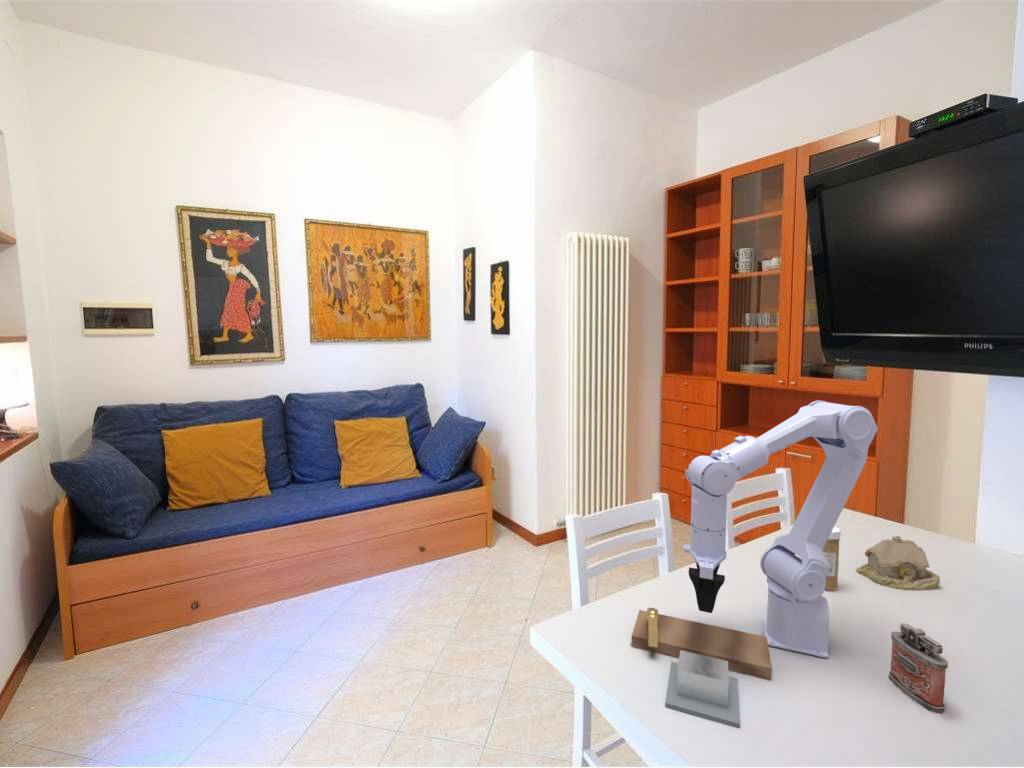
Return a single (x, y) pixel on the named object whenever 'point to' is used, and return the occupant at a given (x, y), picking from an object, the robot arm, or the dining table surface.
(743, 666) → the brown wooden board
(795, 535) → the robot arm
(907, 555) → the ceramic model
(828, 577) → the sprinkles bottle
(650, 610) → the lever
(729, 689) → the mat
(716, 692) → the light grey block
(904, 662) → the lighter
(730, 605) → the dining table surface
